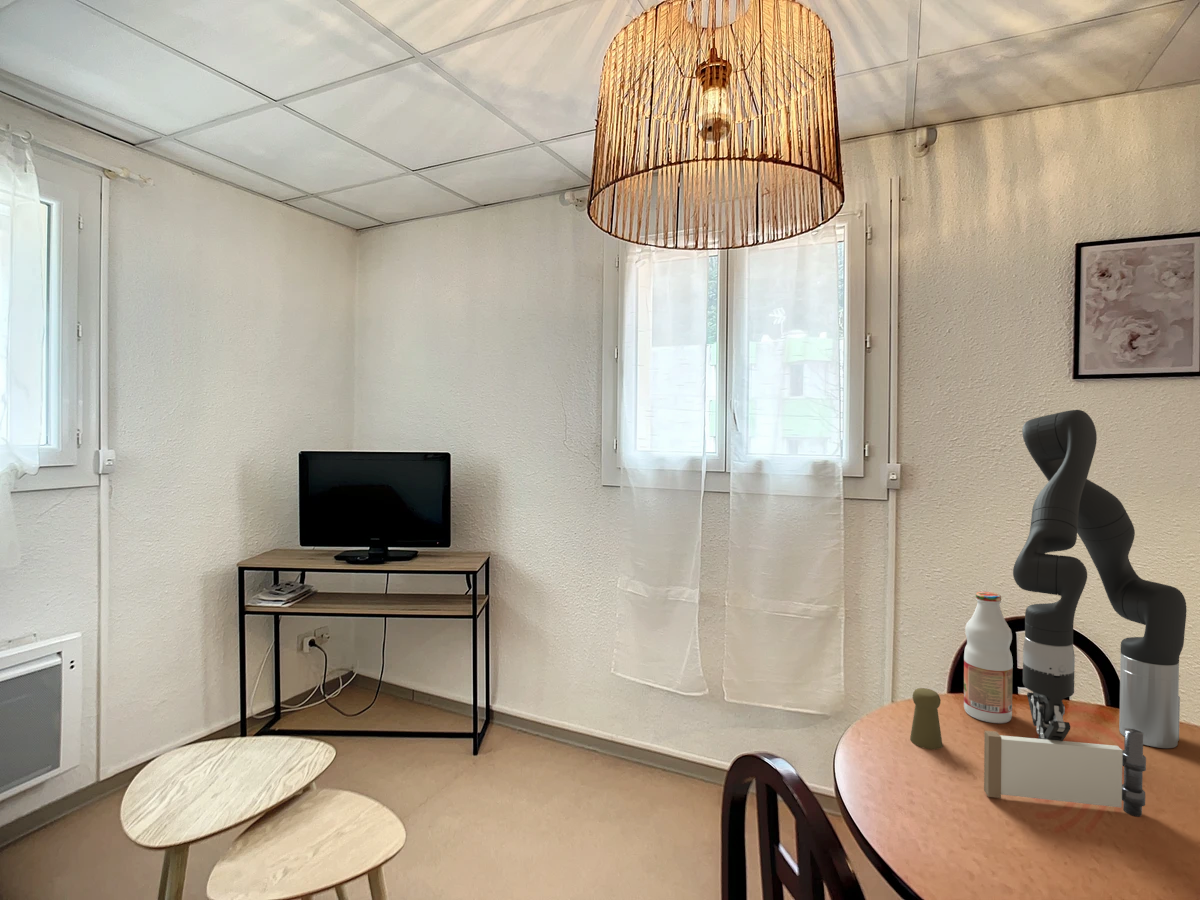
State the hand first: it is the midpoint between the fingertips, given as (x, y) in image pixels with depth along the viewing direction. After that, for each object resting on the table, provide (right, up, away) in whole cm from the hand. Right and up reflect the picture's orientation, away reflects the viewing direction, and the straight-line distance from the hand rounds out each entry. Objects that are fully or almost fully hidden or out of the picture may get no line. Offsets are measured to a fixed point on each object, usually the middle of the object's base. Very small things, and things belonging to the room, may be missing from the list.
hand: (1047, 756), depth 112 cm
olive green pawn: (-12, -6, +18) cm, 23 cm away
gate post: (+10, -6, -6) cm, 13 cm away
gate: (-2, -6, -4) cm, 7 cm away
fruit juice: (+8, -5, +30) cm, 31 cm away
